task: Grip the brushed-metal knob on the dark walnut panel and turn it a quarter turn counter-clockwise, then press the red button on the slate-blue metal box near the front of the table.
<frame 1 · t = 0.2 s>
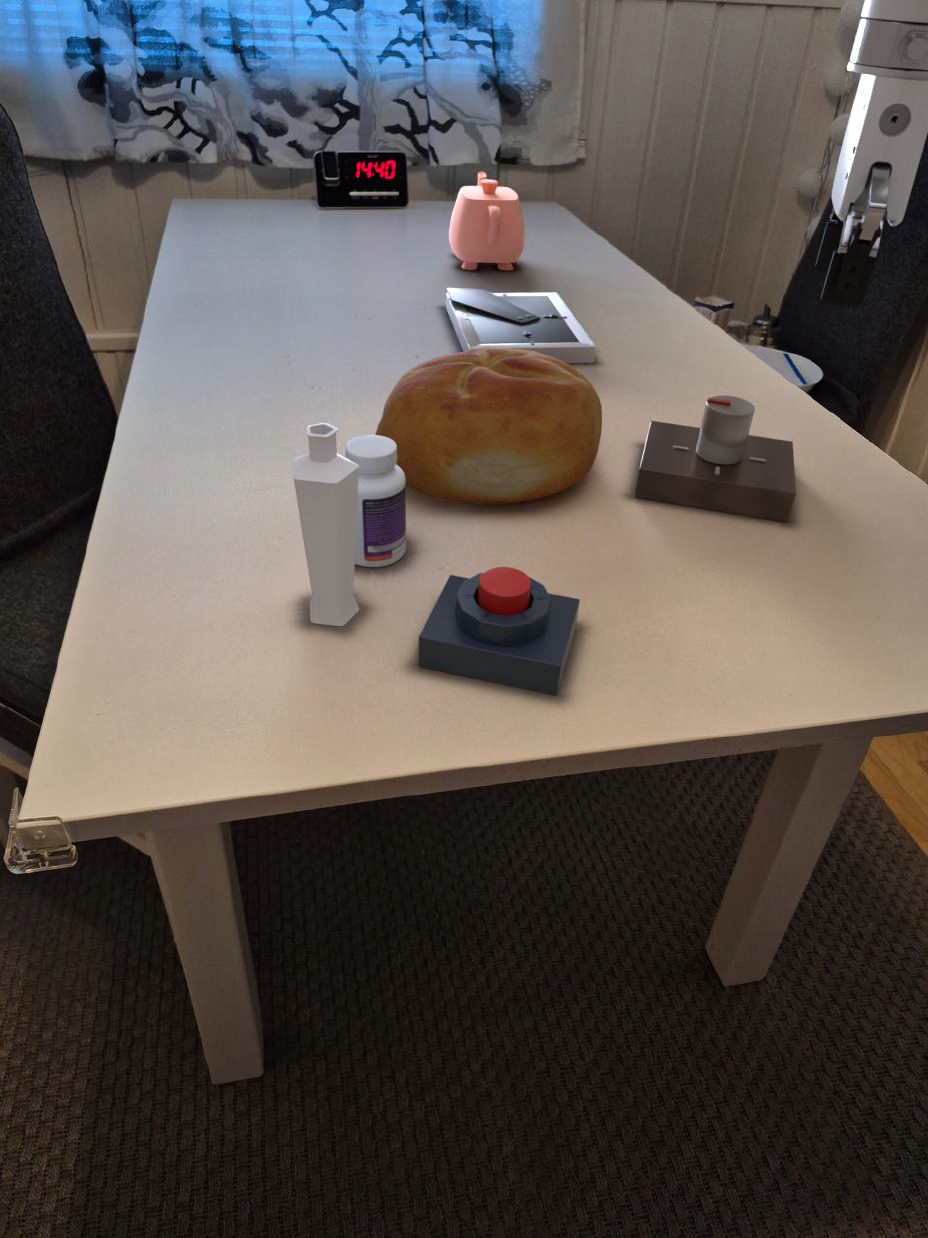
hand: (836, 286, 75), 19 cm above the table, tool pointing down, fingers open, 9 cm apart
button: (504, 591, 61), point 5 cm above the table, slide at 0.1 cm
teapot: (484, 262, 142), on the table
pill bottle: (373, 553, 74), on the table
button box: (499, 646, 64), on the table
bread: (486, 462, 88), on the table
perfume bottle: (333, 614, 67), on the table
dial panel: (712, 482, 86), on the table
knob: (725, 428, 82), point 6 cm above the table, hinge at 0.0°
picture frame: (515, 335, 116), on the table
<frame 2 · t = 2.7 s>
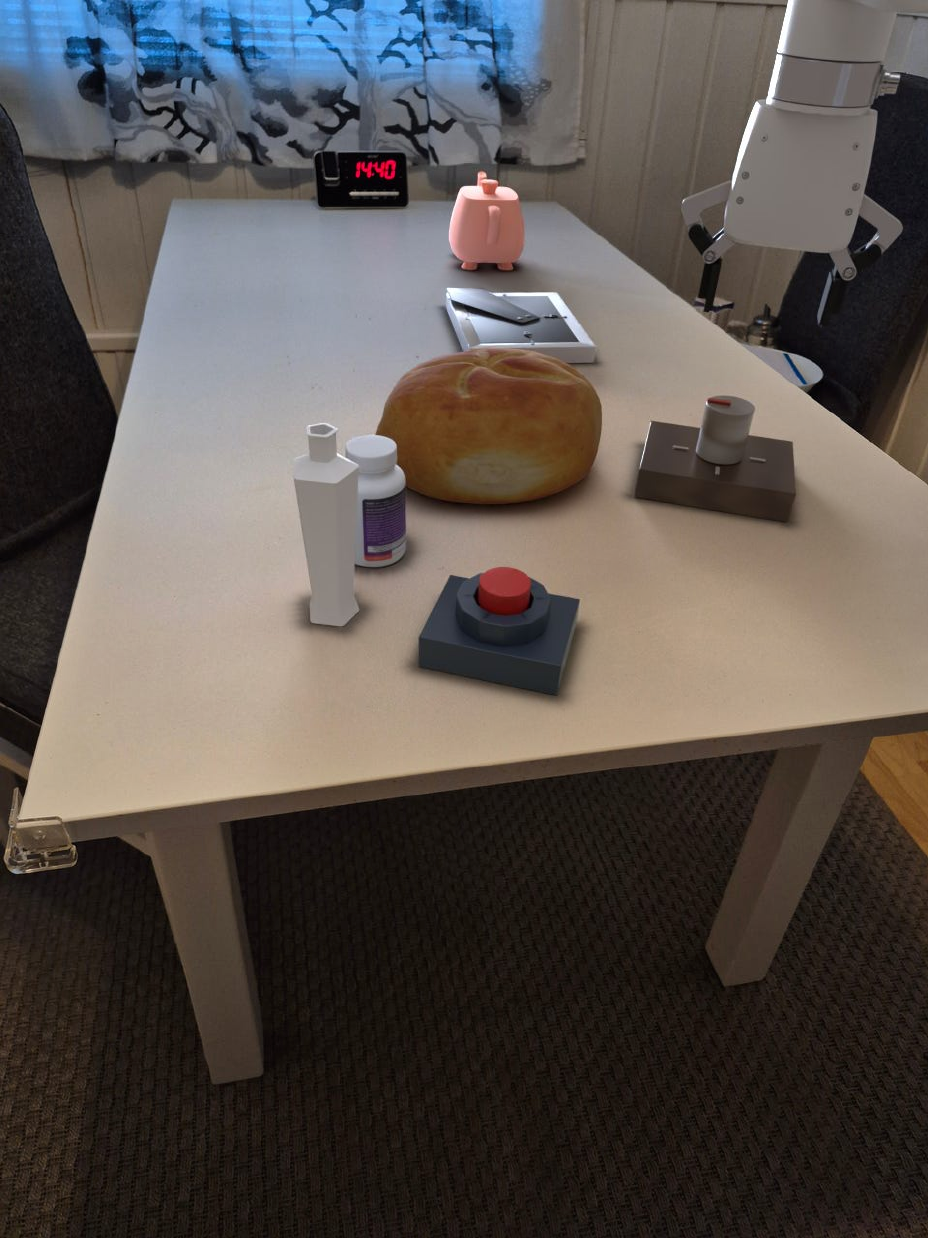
hand: (764, 314, 76), 16 cm above the table, tool pointing down, fingers open, 9 cm apart
nothing on the table moved.
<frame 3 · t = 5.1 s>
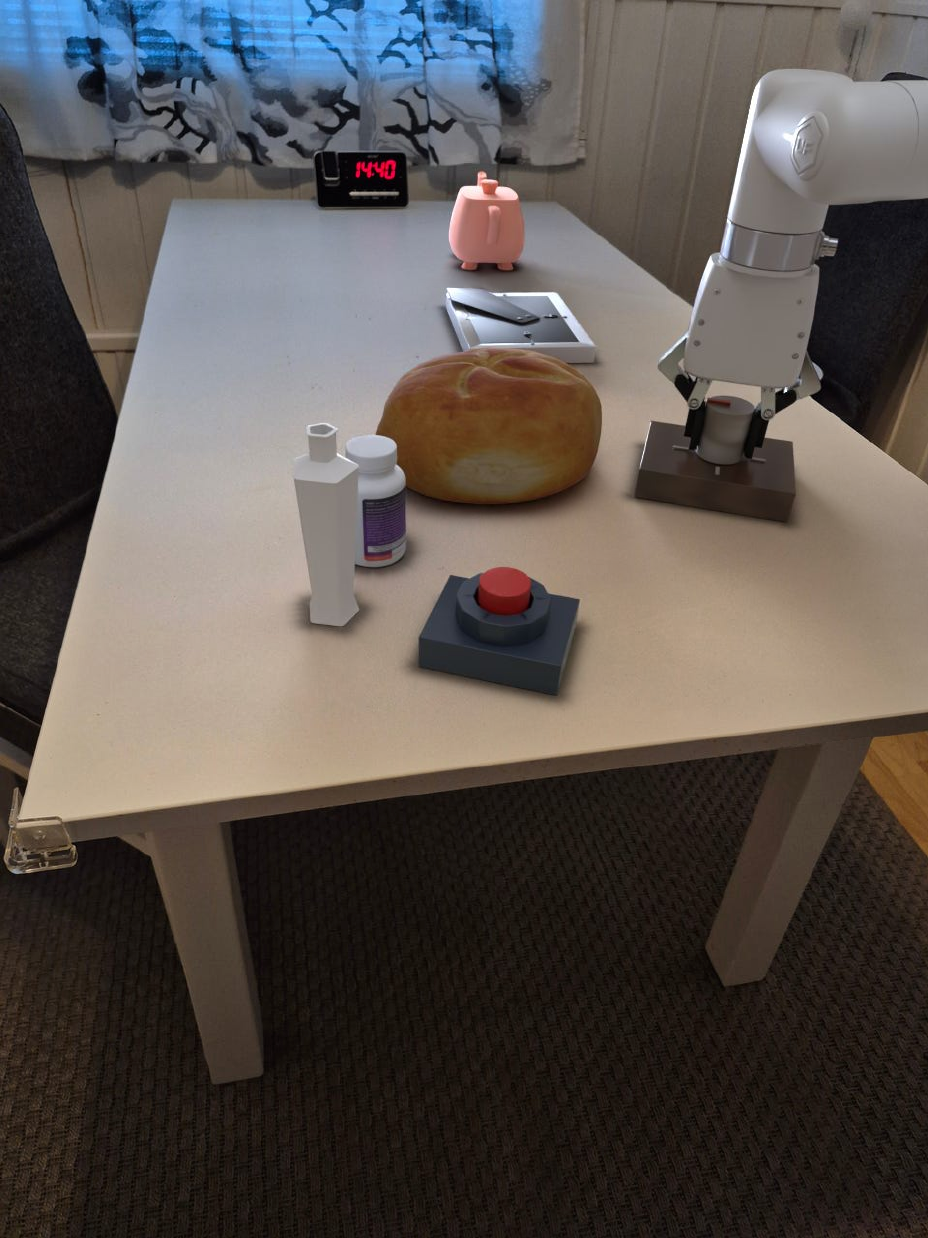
hand: (720, 446, 83), 4 cm above the table, tool pointing down, fingers closed on knob, 4 cm apart
knob: (725, 428, 82), point 6 cm above the table, hinge at 0.1°, touching gripper
everything else where it was.
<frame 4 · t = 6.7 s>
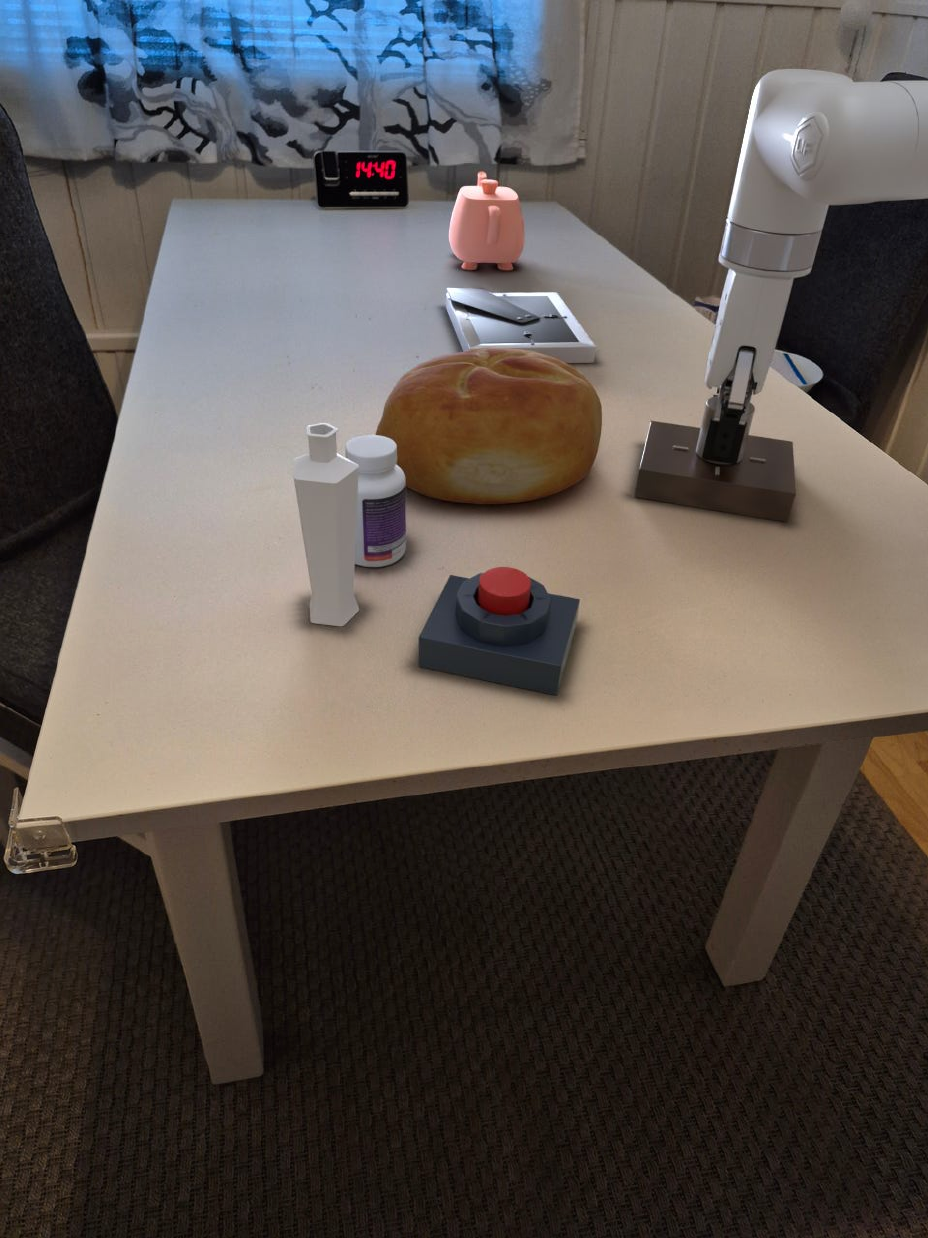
hand: (720, 446, 83), 4 cm above the table, tool pointing down, fingers closed on knob, 4 cm apart
knob: (725, 428, 82), point 6 cm above the table, hinge at 90.1°, touching gripper
everything else where it was.
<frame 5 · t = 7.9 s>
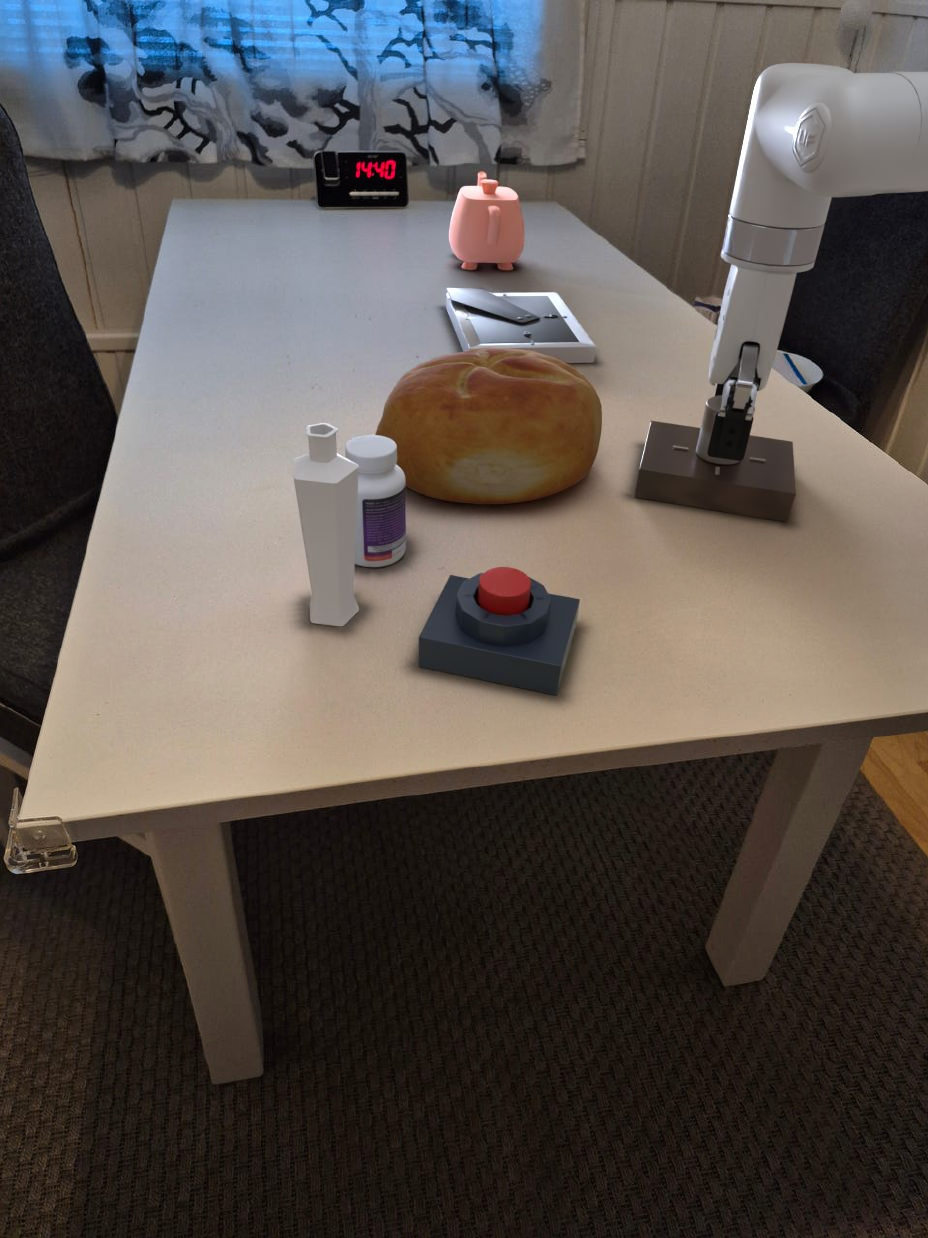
hand: (726, 435, 82), 5 cm above the table, tool pointing down, fingers open, 9 cm apart
knob: (725, 428, 82), point 6 cm above the table, hinge at 88.6°
everything else where it was.
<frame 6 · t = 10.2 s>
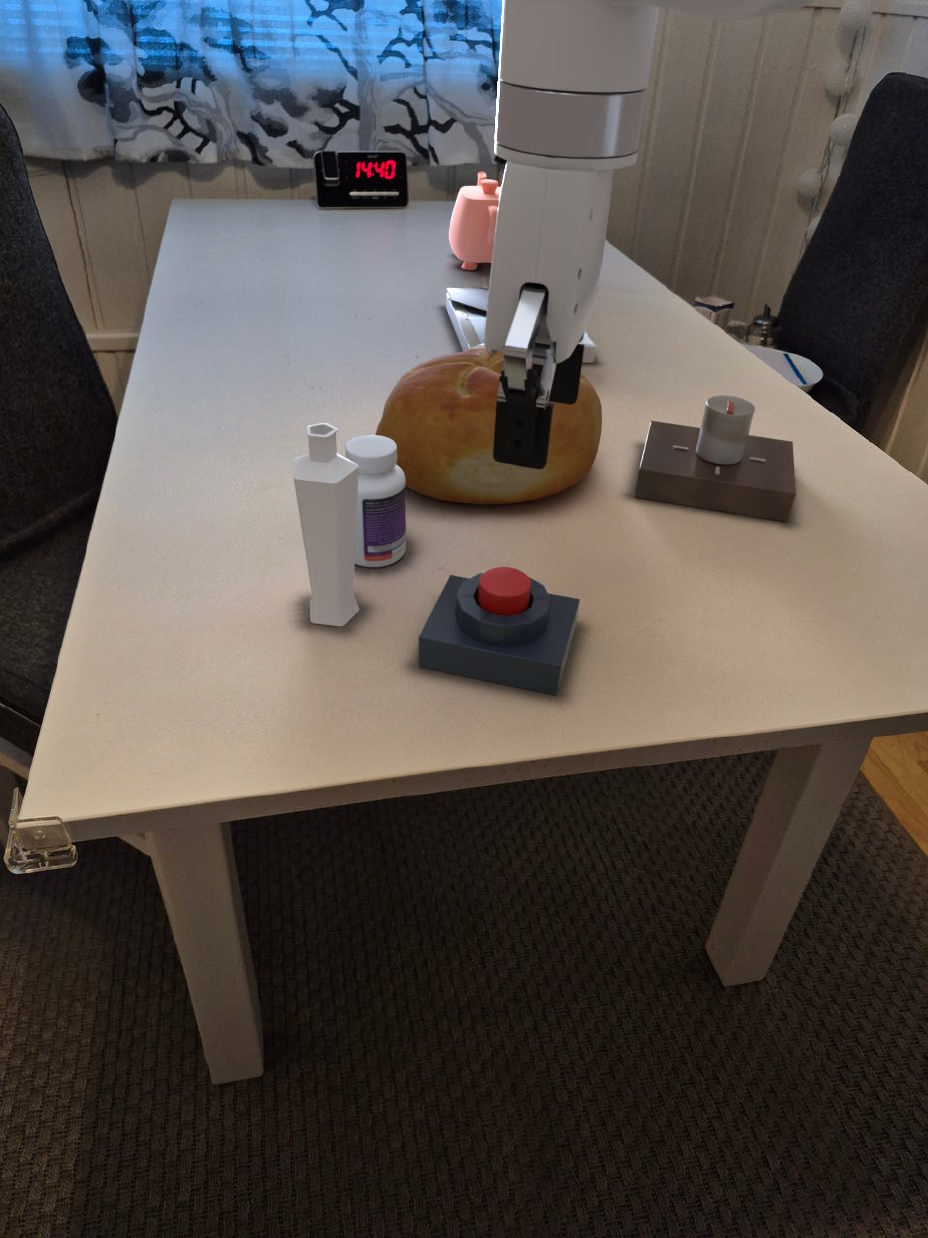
hand: (537, 429, 56), 16 cm above the table, tool pointing down, fingers open, 9 cm apart
nothing on the table moved.
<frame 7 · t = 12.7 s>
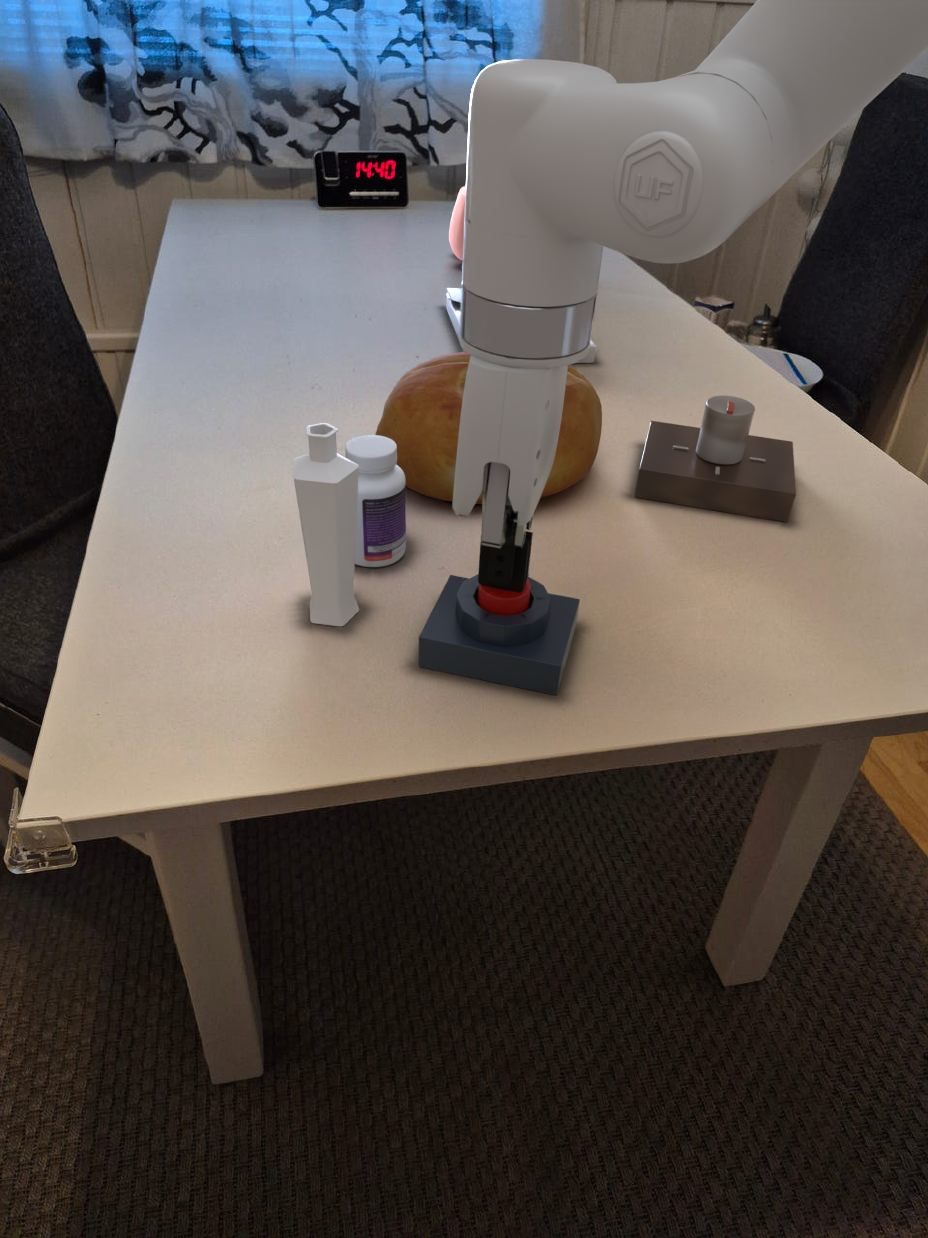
hand: (502, 582, 61), 6 cm above the table, tool pointing down, fingers closed
button: (504, 593, 62), point 5 cm above the table, slide at -0.1 cm, touching gripper
everything else where it was.
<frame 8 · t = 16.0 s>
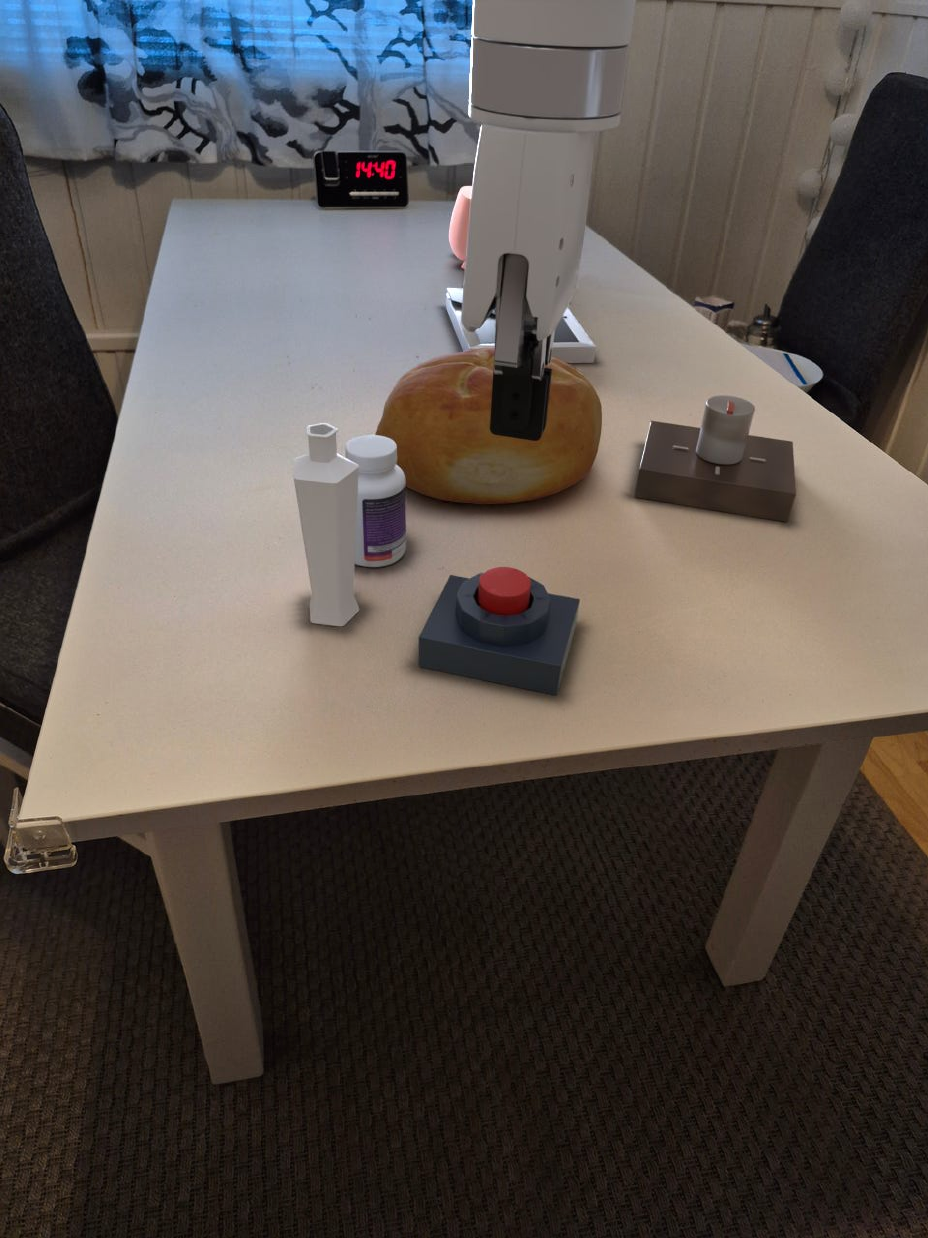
hand: (517, 431, 54), 17 cm above the table, tool pointing down, fingers closed
button: (504, 591, 61), point 5 cm above the table, slide at 0.1 cm
everything else where it was.
at the end: knob at +89° (first picture: +0°); button pushed in 1.1 cm at the most during the clip, back to where it started at the end; button slide at 0.1 cm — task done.
